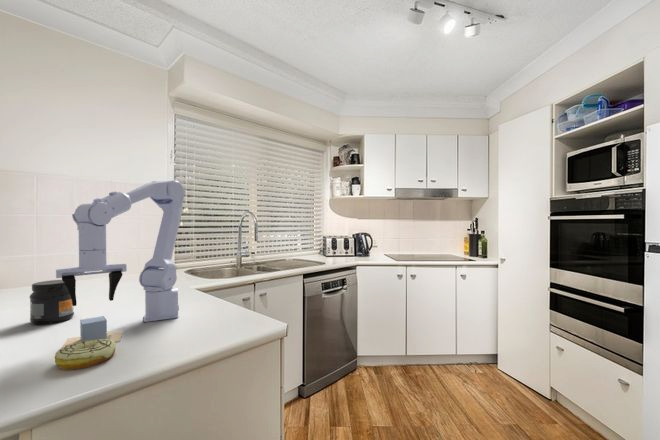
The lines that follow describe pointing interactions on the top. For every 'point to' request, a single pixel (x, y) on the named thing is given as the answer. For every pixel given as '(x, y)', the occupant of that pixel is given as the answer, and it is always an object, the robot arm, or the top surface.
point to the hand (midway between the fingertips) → (93, 302)
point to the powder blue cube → (93, 328)
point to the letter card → (111, 335)
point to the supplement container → (50, 303)
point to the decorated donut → (85, 353)
